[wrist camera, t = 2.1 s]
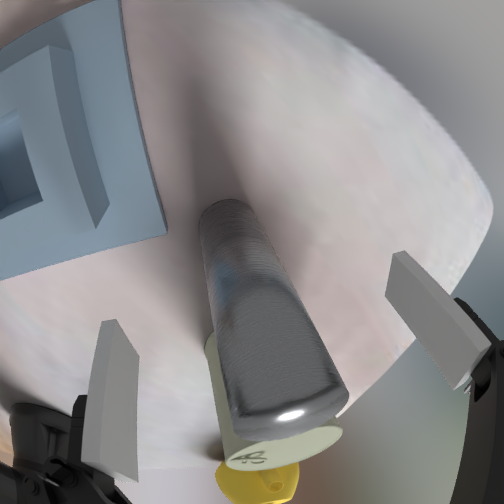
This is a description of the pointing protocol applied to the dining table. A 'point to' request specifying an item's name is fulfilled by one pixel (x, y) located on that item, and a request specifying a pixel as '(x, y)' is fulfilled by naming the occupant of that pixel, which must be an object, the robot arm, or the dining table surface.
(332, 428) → the can
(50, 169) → the socket block
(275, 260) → the peg
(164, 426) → the dining table surface
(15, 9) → the dining table surface
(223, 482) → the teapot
